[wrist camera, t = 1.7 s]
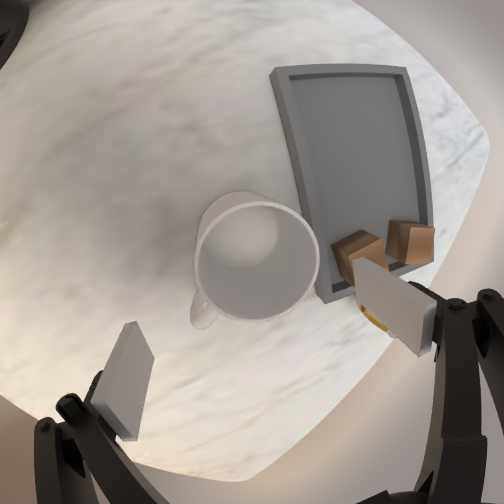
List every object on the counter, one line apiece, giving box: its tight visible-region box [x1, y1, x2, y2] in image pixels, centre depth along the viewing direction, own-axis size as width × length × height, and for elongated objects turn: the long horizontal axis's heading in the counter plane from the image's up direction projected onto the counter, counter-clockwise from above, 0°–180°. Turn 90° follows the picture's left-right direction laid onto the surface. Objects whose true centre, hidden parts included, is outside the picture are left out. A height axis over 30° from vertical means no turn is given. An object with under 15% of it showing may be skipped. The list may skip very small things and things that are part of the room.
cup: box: [190, 191, 320, 330], centre depth 23 cm, size 8×12×10 cm
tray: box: [270, 64, 434, 304], centre depth 26 cm, size 24×16×2 cm, turn 14°
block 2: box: [385, 220, 435, 264], centre depth 28 cm, size 4×4×4 cm
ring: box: [357, 301, 397, 338], centre depth 28 cm, size 7×3×8 cm, turn 66°
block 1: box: [331, 229, 389, 288], centre depth 27 cm, size 4×4×4 cm
